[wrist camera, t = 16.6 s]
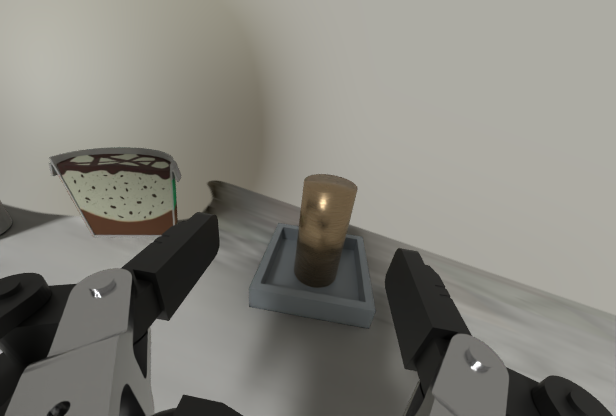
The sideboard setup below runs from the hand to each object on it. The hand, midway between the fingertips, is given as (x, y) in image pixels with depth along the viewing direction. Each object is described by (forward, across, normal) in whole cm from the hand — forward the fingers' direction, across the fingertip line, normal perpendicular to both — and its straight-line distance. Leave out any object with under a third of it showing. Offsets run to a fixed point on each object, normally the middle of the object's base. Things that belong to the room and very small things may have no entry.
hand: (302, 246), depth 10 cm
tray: (+12, -1, +13) cm, 17 cm away
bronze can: (+11, -1, +12) cm, 17 cm away
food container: (+16, +23, +14) cm, 31 cm away
